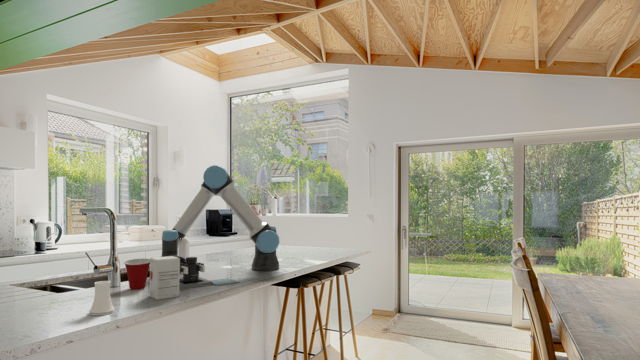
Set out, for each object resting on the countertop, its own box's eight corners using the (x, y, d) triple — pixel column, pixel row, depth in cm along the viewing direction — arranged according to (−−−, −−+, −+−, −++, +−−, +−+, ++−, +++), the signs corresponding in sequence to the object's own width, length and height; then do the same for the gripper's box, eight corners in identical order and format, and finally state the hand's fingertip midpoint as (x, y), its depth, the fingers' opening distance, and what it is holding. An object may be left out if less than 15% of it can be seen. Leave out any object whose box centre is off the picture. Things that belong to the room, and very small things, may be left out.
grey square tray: (199, 280, 192) (199, 277, 192) (212, 284, 181) (212, 281, 181) (169, 284, 183) (169, 280, 183) (181, 289, 172) (181, 285, 173)
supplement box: (148, 296, 160) (149, 257, 161) (171, 292, 166) (172, 255, 166) (155, 300, 153) (156, 259, 154) (179, 296, 159) (180, 257, 159)
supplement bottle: (196, 286, 179) (196, 258, 179) (180, 286, 179) (180, 258, 180) (200, 283, 186) (201, 256, 186) (185, 283, 186) (186, 256, 186)
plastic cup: (118, 291, 168) (119, 262, 169) (129, 286, 179) (130, 258, 180) (145, 291, 169) (145, 261, 169) (154, 286, 179) (155, 258, 180)
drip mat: (228, 279, 195) (228, 278, 195) (239, 282, 186) (239, 281, 186) (206, 282, 188) (206, 280, 188) (216, 285, 179) (216, 284, 179)
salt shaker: (101, 316, 131) (102, 284, 132) (83, 314, 133) (84, 283, 134) (119, 310, 138) (120, 280, 139) (102, 308, 140) (102, 279, 141)
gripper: (196, 269, 203) (216, 276, 185) (155, 274, 190) (172, 281, 172) (196, 254, 203) (216, 259, 185) (155, 257, 191) (173, 263, 173)
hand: (195, 269), depth 179 cm, fingers closed on supplement bottle, 7 cm apart
